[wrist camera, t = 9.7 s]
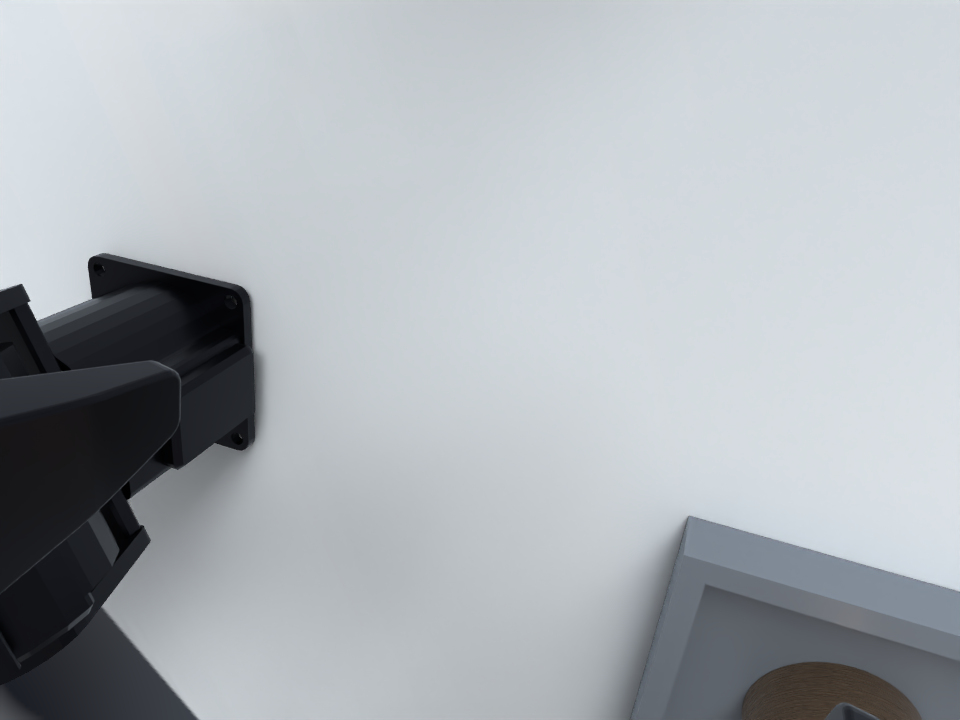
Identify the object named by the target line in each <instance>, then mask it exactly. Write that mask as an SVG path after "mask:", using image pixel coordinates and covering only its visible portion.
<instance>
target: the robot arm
mask: <svg viewBox="0 0 960 720" xmlns="http://www.w3.org/2000/svg"><path fill="white" fill-rule="evenodd" d="M102 266H103V267H104V269H105V270H104V269H103V267H102ZM88 270H89V278H90V285H91V292H92V299H91V300H88V301H86V302H83V303H81V304H78V305H76V306H73V307H71V308H68V309H66V310H63V311H61V312H58V313H56V314H53V315H51V316H49V317H46V318H44V319H41V320H39V321H36V319H35V317H34V315H33V313H32V311H31V309H30V307H29V305H28V302H30V299H29V297H28V295H27V293H26V291H25V289H24V287H23V285H22V284H19V285H16V286H12V287H9V288H6V289H2V290H0V685H2V684H4V683H7V682H9V681H11V680H13V679H15V678H17V677H19V676H21V675H23V674H25V673H27V672H29V671H30V670H32V669H33V668H35V667H37V666H38V665H40V664H42V663H43V662H45V661H47V660H48V659H49V658H51V657H52V656H53V655H55V654H56V653H57V652H59V651H60V650H62V649H63V648H64V647H65V646H66V645H68V644H69V643H70V642H71V641H72V640H73V639H74V638H75V637H77V636H78V635H79V633H80V632H81V631H82V630H83V629H84V628H85V627H86V626H87V624H88V623H89V622H90V621H91V619H92V618H93V617H94V615H95V614H96V613H97V611H98V610H99V609H100V607H101V606H102V605H103V604H104V602H105V601H106V600H107V598H108V597H109V596H110V594H111V593H112V592H113V590H114V589H115V588H116V586H117V585H118V584H119V583H120V581H121V580H122V579H123V577H124V576H125V575H126V573H127V572H128V571H129V569H130V568H131V567H132V565H133V564H134V563H135V562H136V560H137V559H138V558H139V556H140V555H141V554H142V552H143V551H144V550H145V548H146V547H147V546H148V544H149V543H150V542H151V540H150V538H149V536H148V534H147V532H146V530H145V528H144V526H142V525H139V523H138V521H137V519H136V517H135V515H134V513H133V511H132V509H131V507H130V505H129V503H128V501H127V500H128V499H129V498H131V497H132V496H134V495H135V494H136V493H138V492H139V491H140V490H142V489H143V488H144V487H146V486H147V485H148V484H150V483H151V482H152V481H154V480H155V479H156V478H158V477H159V476H160V475H162V474H163V473H164V472H166V471H167V470H168V469H170V468H174V469H177V470H178V469H180V468H182V467H183V466H185V465H186V464H187V463H189V462H190V461H191V460H193V459H194V458H195V457H197V456H198V455H199V454H201V453H202V452H203V451H204V450H206V449H207V448H208V447H210V446H211V445H212V444H214V443H216V444H220V445H223V446H226V447H229V448H233V449H236V450H245V449H246V448H248V447H249V446H250V445H251V444H252V443H253V442H254V439H255V426H254V412H255V391H254V362H253V352H252V338H251V309H250V298H249V295H248V293H247V292H246V290H245V289H243V288H242V287H241V286H238V285H235V284H231V283H227V282H223V281H219V280H215V279H210V278H206V277H202V276H198V275H194V274H190V273H185V272H181V271H177V270H173V269H169V268H165V267H161V266H156V265H152V264H148V263H144V262H140V261H136V260H131V259H127V258H123V257H119V256H115V255H111V254H106V253H102V254H99V255H96V256H93V257H91V258H90V259H89V261H88ZM231 296H233V297H234V298H235V299H236V301H237V305H236V304H235V303H234V302H233V301H232V298H231ZM238 434H240V435H241V437H242V438H240V436H239V435H238ZM824 720H880V719H878V718H877V717H875V716H873V715H871V714H869V713H867V712H865V711H863V710H861V709H859V708H857V707H855V706H853V705H851V704H849V703H839V704H838V705H836V706H835V707H834V708H833V709H832V711H831V712H830V713H829V714H828V716H827V717H826V718H825V719H824Z"/></svg>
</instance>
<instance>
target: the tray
mask: <svg viewBox="0 0 960 720" xmlns="http://www.w3.org/2000/svg"><path fill="white" fill-rule="evenodd" d="M804 662H826V663H835V664H842V665H846V666H850V667H854V668H857V669H860V670H863V671H866V672H869V673H871V674H873V675H875V676H878V677H880V678H881V679H883V680H885V681H887V682H888V683H890V684H891V685H893V686H894V687H896V688H897V689H898V690H900V691H901V692H902V693H903V694H904V695H905V696H906V697H907V698H908V699H909V700H910V701H911V702H912V703H913V705H914V706H915V707H916V709H917V710H918V712H919V713H920V716H921V718H922V720H960V592H958V591H954V590H951V589H947V588H944V587H940V586H937V585H933V584H930V583H926V582H922V581H919V580H915V579H912V578H908V577H905V576H901V575H898V574H894V573H890V572H887V571H883V570H880V569H876V568H873V567H869V566H866V565H862V564H858V563H855V562H851V561H848V560H844V559H841V558H837V557H834V556H830V555H826V554H823V553H819V552H816V551H812V550H809V549H805V548H801V547H798V546H794V545H791V544H787V543H784V542H780V541H777V540H773V539H769V538H766V537H762V536H759V535H755V534H752V533H748V532H745V531H741V530H737V529H734V528H730V527H727V526H723V525H720V524H716V523H713V522H709V521H705V520H702V519H698V518H695V517H691V516H689V518H688V521H687V525H686V528H685V532H684V535H683V539H682V542H681V545H680V549H679V552H678V556H677V559H676V563H675V566H674V570H673V573H672V577H671V580H670V584H669V587H668V590H667V594H666V597H665V601H664V604H663V608H662V611H661V615H660V618H659V622H658V625H657V629H656V632H655V635H654V639H653V642H652V646H651V649H650V653H649V656H648V660H647V663H646V667H645V670H644V674H643V677H642V680H641V684H640V687H639V691H638V694H637V698H636V701H635V705H634V708H633V712H632V715H631V719H630V720H742V705H743V700H744V698H745V696H746V693H747V692H748V690H749V689H750V687H751V686H752V685H753V684H754V683H755V682H756V681H757V680H758V679H760V678H761V677H762V676H764V675H765V674H767V673H769V672H771V671H773V670H775V669H778V668H781V667H784V666H788V665H792V664H797V663H804Z"/></svg>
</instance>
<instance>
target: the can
mask: <svg viewBox="0 0 960 720" xmlns="http://www.w3.org/2000/svg"><path fill="white" fill-rule="evenodd" d="M839 703H849V704H851V705H853V706H855V707H857V708H859V709H861V710H863V711H865V712H867V713H869V714H871V715H873V716H875V717H877V718H878V719H880V720H922V718H921V716H920V713H919V712H918V710H917V709H916V707H915V706H914V705H913V703H912V702H911V701H910V700H909V699H908V698H907V697H906V696H905V695H904V694H903V693H902V692H901V691H900V690H898V689H897V688H896V687H894V686H893V685H891V684H890V683H888V682H887V681H885V680H883V679H881V678H880V677H878V676H875V675H873V674H871V673H869V672H866V671H863V670H860V669H857V668H854V667H850V666H846V665H842V664H835V663H826V662H804V663H797V664H792V665H788V666H784V667H781V668H778V669H775V670H773V671H771V672H769V673H767V674H765V675H764V676H762V677H761V678H760V679H758V680H757V681H756V682H755V683H754V684H753V685H752V686H751V687H750V689H749V690H748V692H747V693H746V696H745V698H744V700H743V705H742V720H824V719H825V718H826V717H827V716H828V714H829V713H830V712H831V711H832V709H833V708H834V707H835V706H836V705H838V704H839Z"/></svg>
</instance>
